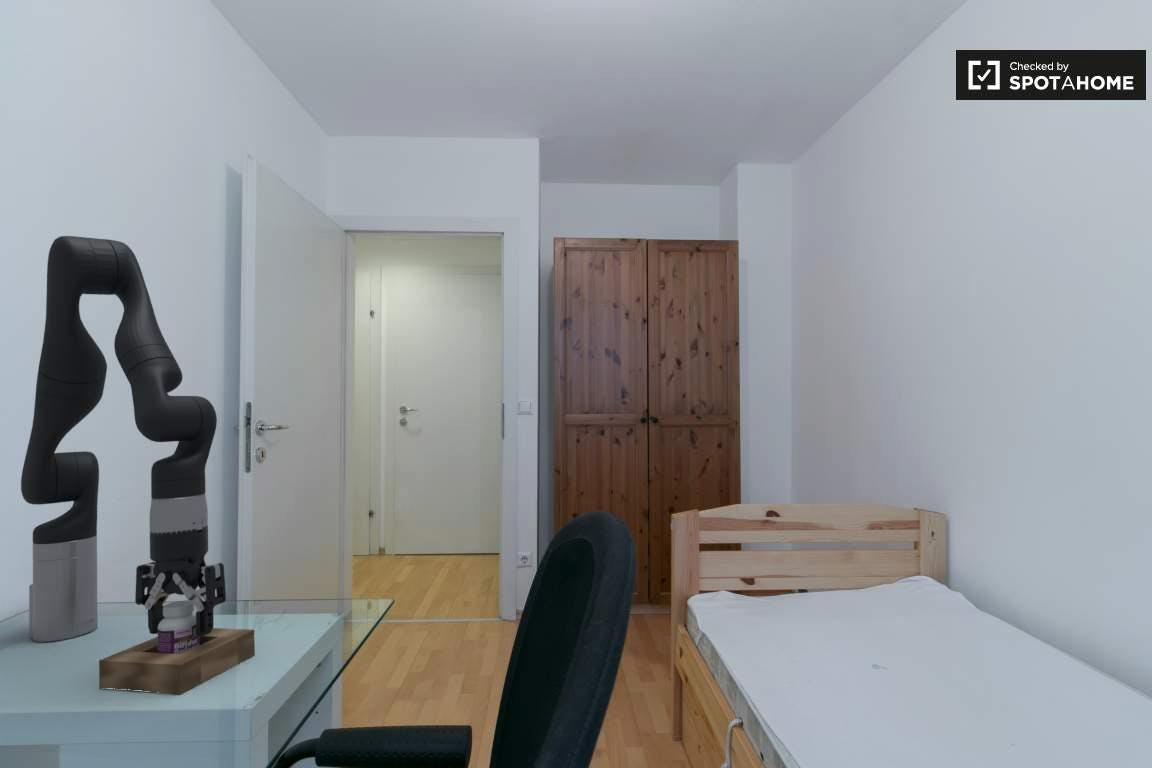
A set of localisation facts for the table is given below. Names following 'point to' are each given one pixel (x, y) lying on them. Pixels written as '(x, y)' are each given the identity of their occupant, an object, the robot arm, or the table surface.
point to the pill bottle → (178, 628)
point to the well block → (176, 663)
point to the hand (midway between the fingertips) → (180, 633)
